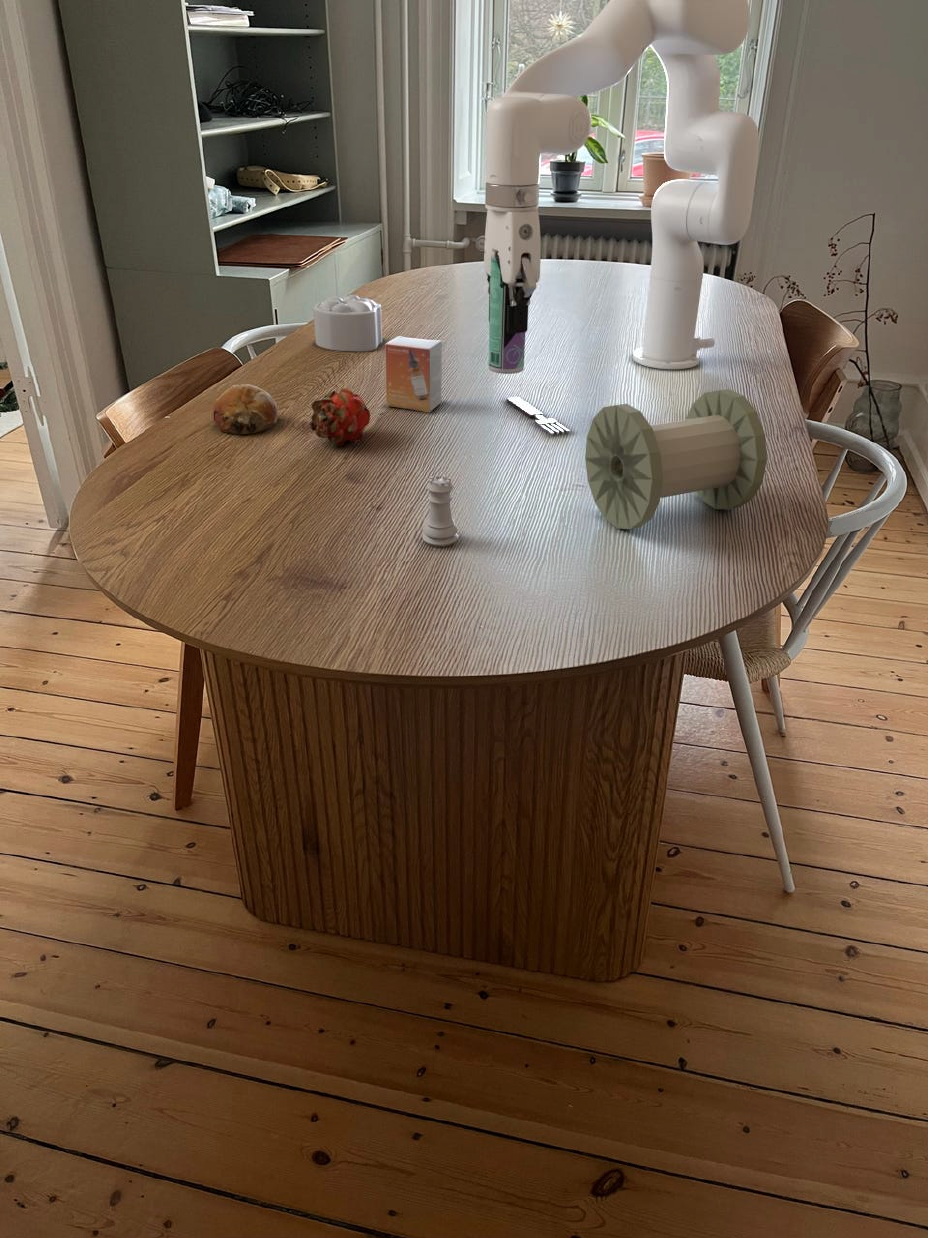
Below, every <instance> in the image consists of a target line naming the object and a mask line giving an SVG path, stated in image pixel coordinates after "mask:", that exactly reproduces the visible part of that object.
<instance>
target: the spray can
mask: <svg viewBox="0 0 928 1238" xmlns="http://www.w3.org/2000/svg"><path fill="white" fill-rule="evenodd" d="M492 251H493V252H492V253H491V280H490V295H489V296H490V322H489V326H488V327H489V329H488V331H489V332H488V370H489V371H490V372H492V373H497V374H501V375H512V374H513V375H514V374H518V373H521V372H523V371H524V370H525V353H526V352H525V351H526V332H523V333H514V334H509V333H507V306H508V305H510V298H509V288H508V284H506V283H504V282H503V280H502V275H501V268H500V258H499V256H498V254H497V253H498V250H494V249H493V248H492ZM519 282H523V278H521V279H516V282H515V283H519ZM519 289H522V287H520V288H515V290H516V294H517V293H518V291H519Z"/></svg>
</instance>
